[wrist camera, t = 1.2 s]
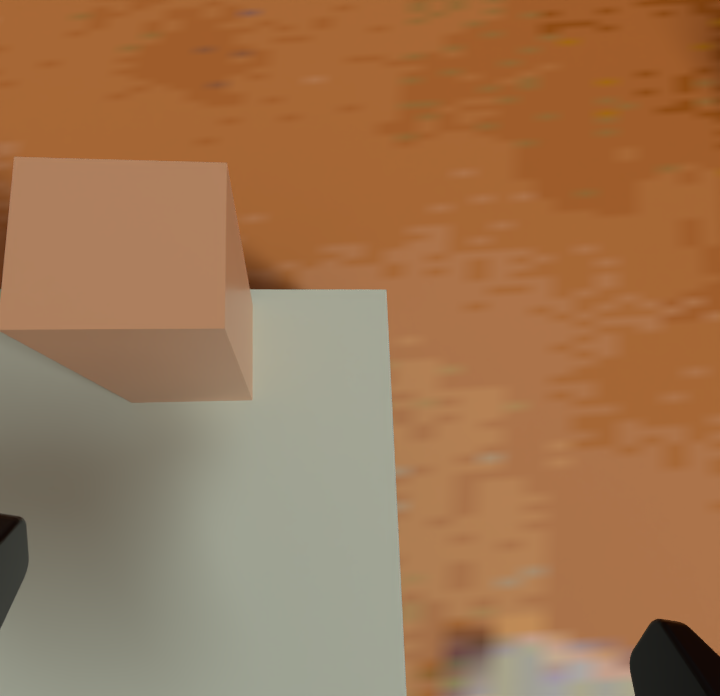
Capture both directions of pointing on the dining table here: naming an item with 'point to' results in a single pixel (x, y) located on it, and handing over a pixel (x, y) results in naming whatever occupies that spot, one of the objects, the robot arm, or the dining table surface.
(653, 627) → the robot arm
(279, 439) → the lid
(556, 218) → the dining table surface
